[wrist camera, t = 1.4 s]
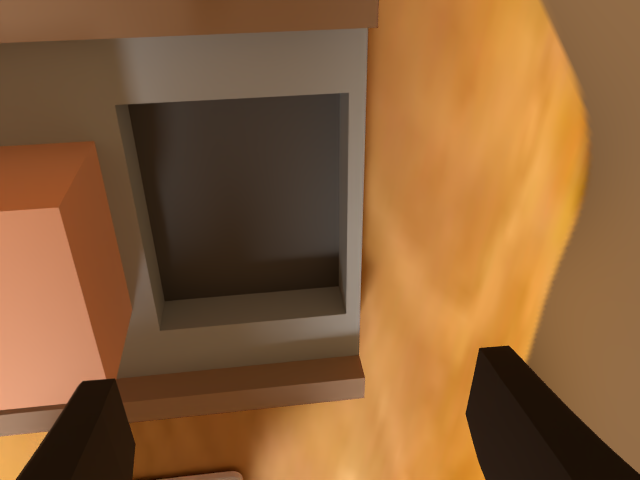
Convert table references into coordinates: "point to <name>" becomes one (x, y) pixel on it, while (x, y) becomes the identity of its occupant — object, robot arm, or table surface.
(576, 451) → the robot arm
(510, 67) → the table surface
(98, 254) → the block
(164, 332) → the grey long tray
